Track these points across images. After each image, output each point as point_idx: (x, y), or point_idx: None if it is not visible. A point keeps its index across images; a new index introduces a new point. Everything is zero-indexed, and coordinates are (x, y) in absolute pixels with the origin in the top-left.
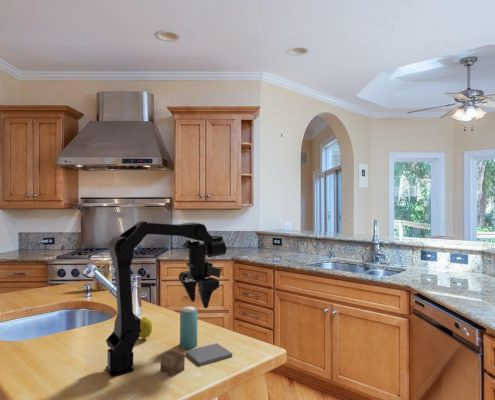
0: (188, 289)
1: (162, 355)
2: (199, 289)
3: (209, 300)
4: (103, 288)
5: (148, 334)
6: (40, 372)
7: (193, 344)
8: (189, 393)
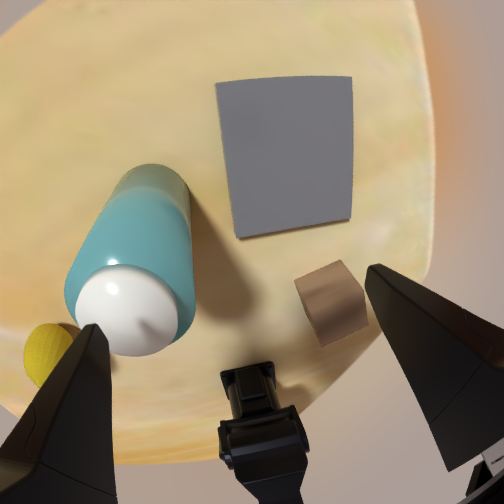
0: (104, 476)
1: (329, 342)
2: (463, 463)
3: (441, 297)
4: None
5: (68, 335)
6: (197, 446)
7: (188, 194)
8: (427, 269)
